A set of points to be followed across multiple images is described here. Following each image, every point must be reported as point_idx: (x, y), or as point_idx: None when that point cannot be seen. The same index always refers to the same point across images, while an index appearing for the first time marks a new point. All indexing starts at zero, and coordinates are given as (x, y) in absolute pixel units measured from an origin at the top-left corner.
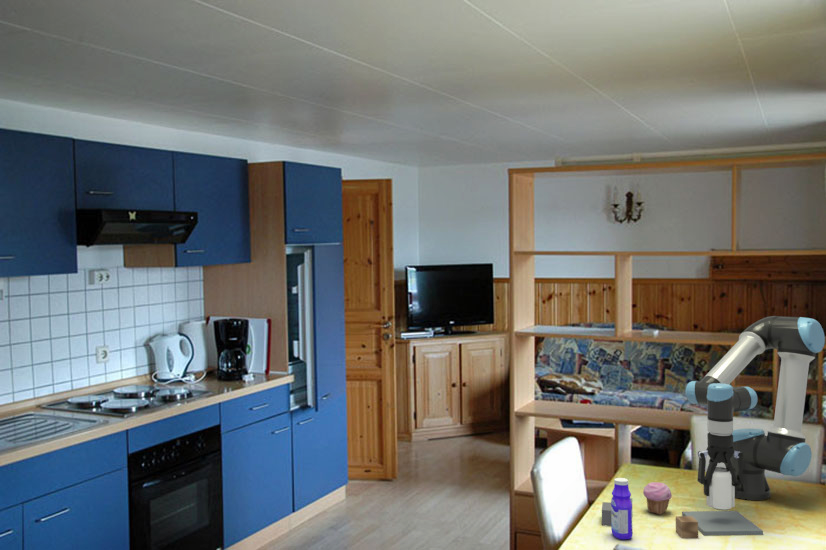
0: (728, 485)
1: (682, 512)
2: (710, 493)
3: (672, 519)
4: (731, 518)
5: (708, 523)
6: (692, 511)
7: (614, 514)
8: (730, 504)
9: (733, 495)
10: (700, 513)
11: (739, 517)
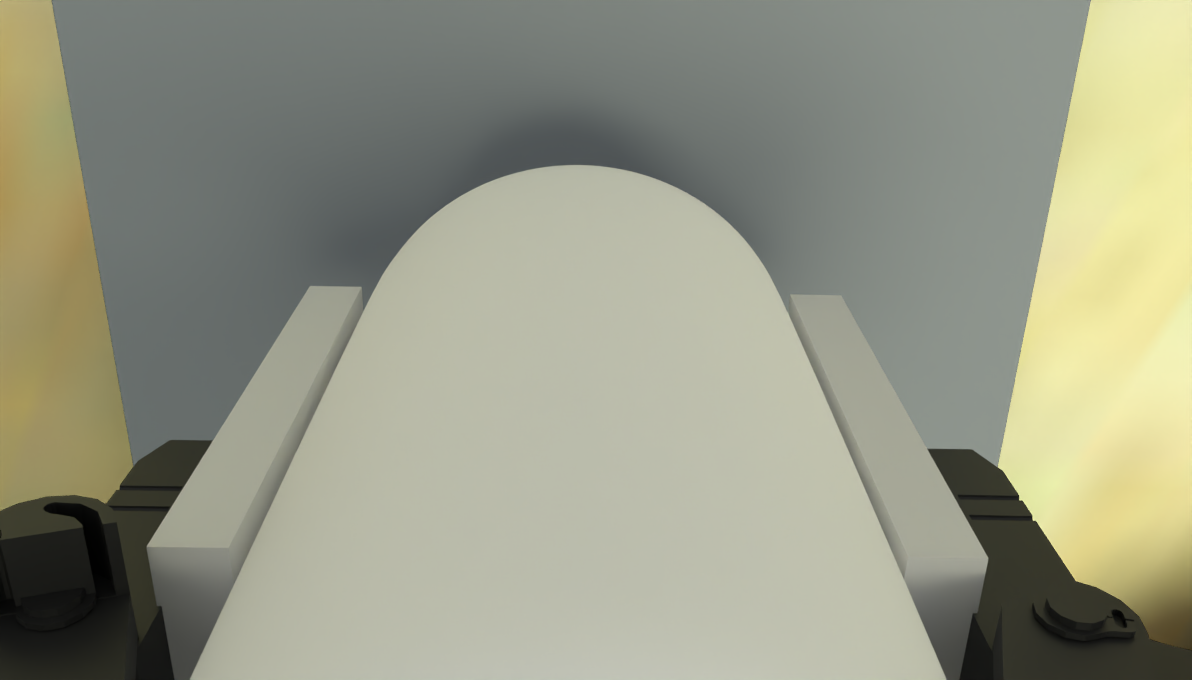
0: (413, 441)
1: None
2: (907, 444)
3: (1171, 474)
4: None
5: (836, 155)
6: None
7: None
8: (421, 239)
9: (270, 400)
10: None
11: (214, 390)
